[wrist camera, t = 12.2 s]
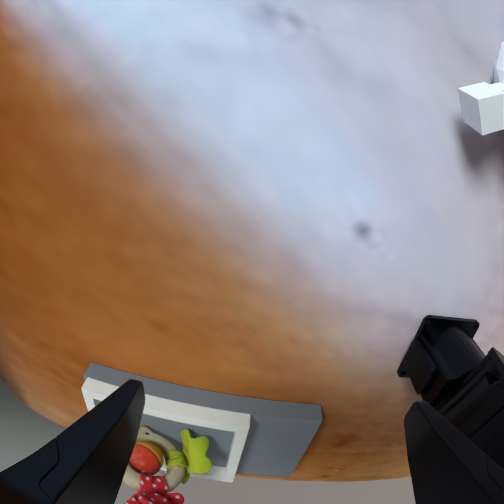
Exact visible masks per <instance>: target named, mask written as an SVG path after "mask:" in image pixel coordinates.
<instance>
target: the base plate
mask: <svg viewBox="0 0 504 504" xmlns="http://www.w3.org/2000/svg"><path fill="white" fill-rule="evenodd" d="M83 377H84V381H85V383H84V384H83V386H82V388H81V389H82V392H83V396H84V399H85V402H86V405H87V409H88V412H89V411H90V410H91V409H92V408H94V407H95V406H96V405H98V404H99V403H100V402H101V401H103V400H104V399H105V398H106V397H108V396H109V395H110V394H111V393H113V392H114V391H115V390H116V389H118V388H119V387H120V386H121V385H123V384H124V383H125V382H126V381H128V380H129V379H134V380H139V381H142V383H143V386H144V392H145V406H144V410H143V414H142V418H141V422H140V427H141V426H143V425H145V426H147V427H148V428H149V429H150V430H151V431H152V432H154V433H156V434H159V435H161V436H162V437H164V438H166V439H167V440H168V441H170V442H171V443H172V444H173V445H174V446H175V447H176V448H177V449H178V451H179V452H181V449H182V447H183V443H182V438H181V432H182V431H183V430H184V429H188V430H189V432H190V433H191V436H192V438H194V439H195V438H197V437H201V436H205V437H207V438H208V440H209V446H208V450H207V452H206V456H207V457H208V458H209V459H210V460H211V463H212V468H211V470H210V471H209V472H207V473H204V474H192V473H190V476H192V477H198V478H204V479H209V480H216V481H223V482H230V483H232V482H233V480H234V477H235V473H244V474H253V475H264V476H277V477H290V476H291V475H292V473H293V471H294V470H295V468H296V466H297V465H298V463H299V462H300V460H301V458H302V457H303V455H304V453H305V451H306V450H307V448H308V446H309V445H310V443H311V441H312V439H313V437H314V436H315V434H316V432H317V430H318V428H319V427H320V425H321V423H322V421H323V419H322V412H321V405H320V404H306V403H294V402H284V401H275V400H266V399H258V398H250V397H243V396H237V395H230V394H224V393H218V392H212V391H207V390H201V389H196V388H191V387H186V386H181V385H177V384H172V383H167V382H163V381H159V380H155V379H150V378H146V377H142V376H138V375H135V374H131V373H127V372H123V371H120V370H116V369H113V368H109V367H106V366H103V365H99V364H96V363H93V362H91V364H90V365H89V367H88V369H87V370H86V372H85V373H84V375H83ZM140 427H139V428H140ZM163 459H164V462H163V466H162V467H161V469H160V470H165V471H167V466H166V462H165V458H164V456H163Z"/></svg>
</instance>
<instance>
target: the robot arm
mask: <svg viewBox="0 0 504 504" xmlns="http://www.w3.org/2000/svg"><path fill="white" fill-rule="evenodd" d="M428 321H430V322H428ZM427 322H428V323H427ZM478 328H479V322H478V321H477V320H473V319H462V318H453V317H443V316H434V315H428V316H426V317H425V318H424V319H423V321H422V323H421V325H420V328H419V330H418V332H417V334H416V336H415V338H414V340H413V342H412V344H411V346H410V348H409V350H408V351H407V353H406V355H405V357H404V359H403V361H402V363H401V365H400V367H399V368H398V370H397V373H398V376H399V377H410V379H411V381H412V384H413V386H414V388H415V391H416V393H417V394H418V395H419V394H420V395H421V397H422V399H423V401H416V402H414V403H413V405H412V406H411V408H410V409H409V411H408V412H407V414H406V416H405V418H404V426H405V435H406V446H407V456H408V462H409V467H410V473H411V478H412V484H413V490H414V496H415V502H416V504H504V356H503V355H502V354H501V353H500V352H499V351H497V350H496V349H495V348H494V347H492V348H491V349H490V351H489V352H488V354H487V355H486V356H485V355H484V353H483V352H482V350H481V349H480V348H479V346H478V345H477V344H476V342H475V341H474V340H473V337H474V335H475V333H476V331H477V329H478ZM144 406H145V392H144V386H143V383H142V381H139V380H134V379H129V380H128V381H126V382H125V383H124V384H123V385H121V386H120V387H119V388H118V389H116V390H115V391H114V392H113V393H111V394H110V395H109V396H108V397H106V398H105V399H104V400H103V401H101V402H100V403H99V404H98V405H96V406H95V407H94V408H92V409H91V410H90V411H89V412H87V413H86V414H85V415H84V416H82V417H81V418H80V419H79V420H77V421H76V422H75V423H73V424H72V425H71V426H70V427H68V428H67V429H66V430H64V431H63V432H62V433H61V434H60V435H58V436H57V437H56V438H54V439H53V440H51V441H50V442H49V443H47V444H46V445H45V446H43V447H42V448H40V449H39V450H38V451H36V452H35V453H33V454H31V455H30V456H28V457H27V458H25V459H23V460H21V461H20V462H18V463H16V464H14V465H12V466H11V467H9V468H7V469H5V470H3V471H2V472H0V504H114V503H115V500H116V497H117V494H118V491H119V488H120V486H121V483H122V480H123V477H124V474H125V472H126V469H127V466H128V463H129V460H130V458H131V455H132V452H133V449H134V447H135V444H136V440H137V436H138V431H139V427H140V422H141V418H142V414H143V410H144Z"/></svg>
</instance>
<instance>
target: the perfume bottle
mask: <svg viewBox="0 0 504 504" xmlns="http://www.w3.org/2000/svg"><path fill="white" fill-rule="evenodd" d="M493 71H494V84H490V85H489V84H487V83H485V82H483V83H478V84H474V85H470V86H465V87H461V88H458V93H459V98H460V104H461V109H462V116H463V121H464V122H465V123H466V124H468V125H469V126H470V127H472V128H473V129H474V130H476V131H477V132H478V133H480V134H481V135H486V134H489V133H493V132H496V131H499V130H503V129H504V42H502V44H501V47H500V50H499V53H498V56H497V58H496V61H495V64H494V67H493Z"/></svg>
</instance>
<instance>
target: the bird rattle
mask: <svg viewBox="0 0 504 504" xmlns="http://www.w3.org/2000/svg"><path fill="white" fill-rule="evenodd" d="M181 438H182V443H183V447H182V449H181V452H179V451H178V449H177V448H176V447H175V446H174V445H173V444H172V443H171V442H170V441H168V440H167V439H166V438H164V437H162V436H161V435H159V434H156V433H154V432H152V431H151V430H150V429H149V428H148V427H147V426H145V425H143V426H141V427H140V428H139V431H138V436H137V440H136V444H135V447H134V449H133V452H132V455H131V458H130V460H129V463H128V466H127V469H126V472H125V474H124V477H123V480H122V481H123V482H124V483H126V484H127V485H128V486H130V487H131V488H133V489H135V490H137V492H136V493H135V494H134V495H133V496H132V497H131V498H130V499H129V500H128V501H127V502H125V504H183V503H184V497H183V496H182V495H181V494H179V493H168V492H170V491H172V490H173V489H175V488H176V487H177V486H178V485H179V484H180V483H181V482H182V483H183V484H185V483H186V482H187V481H188V479H189V477H190V473H192V474H204V473H207V472H209V471H210V470H211V468H212V463H211V460H210V459H209V458H208V457H207V456H206V452H207V450H208V446H209V440H208V438H207V437H205V436H201V437H197V438H195V439H194V438H192V436H191V433H190V432H189V430H188V429H184V430H183V431H182V432H181ZM163 456H164V458H165V462H166V466H167V474H165V473H163V472H162V471H160V469H161V467H162V466H163V462H164V459H163ZM158 471H159V472H161V473H162V474H163V475H164V476H152V475H154V474H156V473H157V472H158Z"/></svg>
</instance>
